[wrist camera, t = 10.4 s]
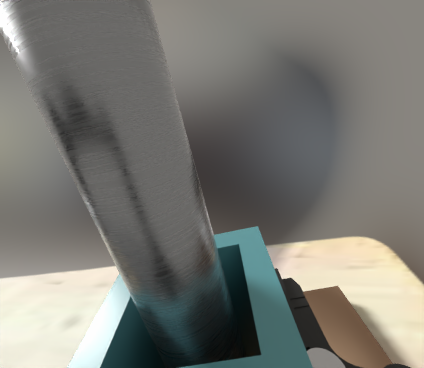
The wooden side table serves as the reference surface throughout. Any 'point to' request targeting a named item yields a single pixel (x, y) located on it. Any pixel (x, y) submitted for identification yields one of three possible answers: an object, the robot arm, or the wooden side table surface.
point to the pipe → (129, 162)
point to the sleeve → (243, 307)
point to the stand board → (345, 329)
